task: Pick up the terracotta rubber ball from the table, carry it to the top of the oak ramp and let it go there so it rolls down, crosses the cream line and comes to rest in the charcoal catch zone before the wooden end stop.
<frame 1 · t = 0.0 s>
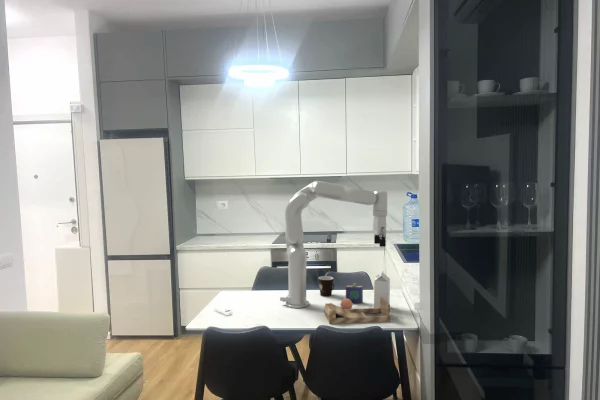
hand: (379, 245, 225), 31 cm above the table, tool pointing down, fingers open, 9 cm apart
ball: (346, 310, 212), on the table
flask: (354, 302, 225), on the table
coffee mug: (326, 296, 238), on the table
milk carton: (381, 308, 215), on the table
lane: (357, 318, 201), on the table
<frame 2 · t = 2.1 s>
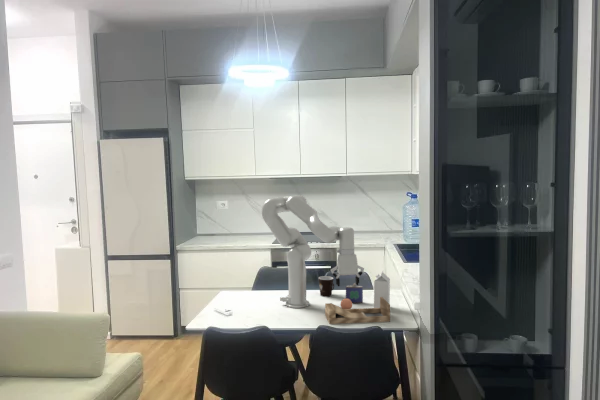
hand: (347, 285, 211), 13 cm above the table, tool pointing down, fingers open, 9 cm apart
nothing on the table moved.
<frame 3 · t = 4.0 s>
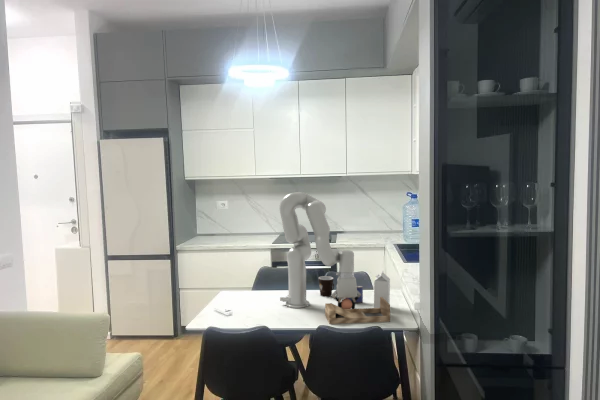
hand: (346, 309, 212), 1 cm above the table, tool pointing down, fingers closed on ball, 6 cm apart
ball: (346, 310, 212), on the table, touching gripper
everything else where it was.
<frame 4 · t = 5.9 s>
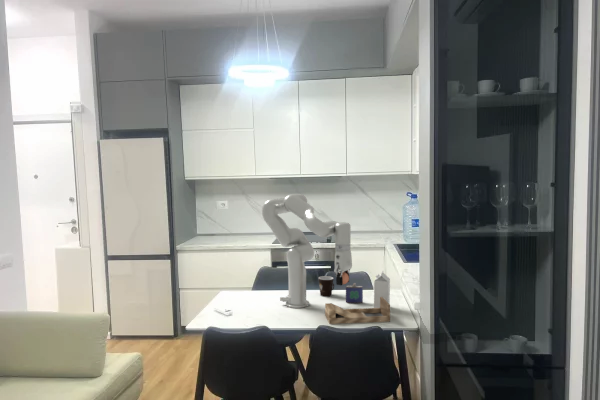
hand: (342, 282, 206), 16 cm above the table, tool pointing down, fingers closed on ball, 6 cm apart
ball: (342, 284, 206), point 15 cm above the table, touching gripper
everything else where it was.
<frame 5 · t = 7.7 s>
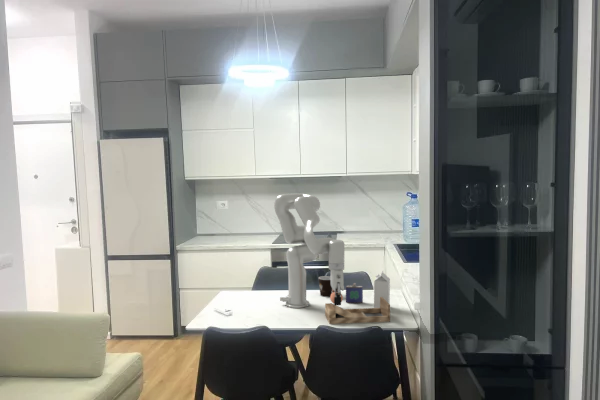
hand: (336, 302, 199), 8 cm above the table, tool pointing down, fingers closed on ball, 5 cm apart
ball: (336, 303, 199), point 7 cm above the table, touching gripper
everything else where it was.
when the fingers open (8 cm above the table, at t = 8.0 s): ball drops 4 cm and tips over, resting on lane.
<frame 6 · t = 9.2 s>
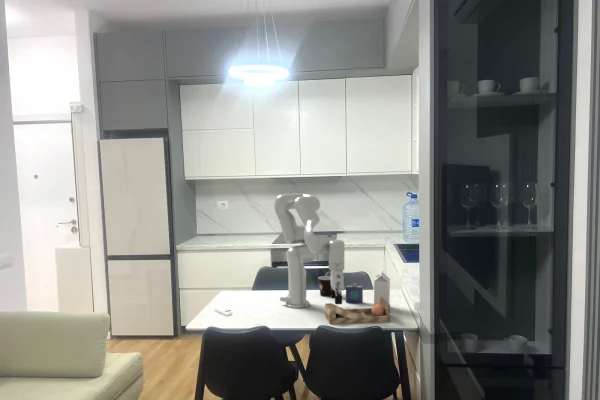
hand: (336, 300, 199), 9 cm above the table, tool pointing down, fingers open, 9 cm apart
ball: (371, 309, 201), point 4 cm above the table, tilted 100°, touching lane
everything else where it was.
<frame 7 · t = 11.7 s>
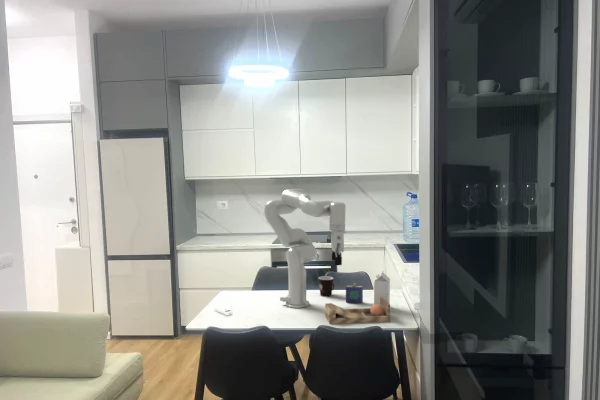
hand: (336, 262, 201), 27 cm above the table, tool pointing down, fingers open, 9 cm apart
ball: (370, 311, 201), point 3 cm above the table, tilted 88°, touching lane
everything else where it was.
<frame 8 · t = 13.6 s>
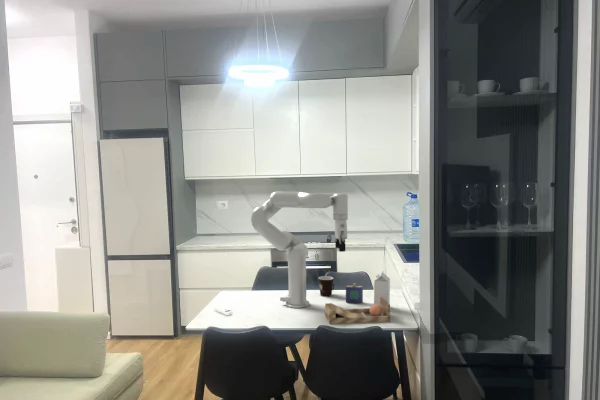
hand: (340, 249, 216), 30 cm above the table, tool pointing down, fingers open, 9 cm apart
ball: (369, 312, 201), point 3 cm above the table, tilted 78°, touching lane
everything else where it was.
at the end: ball inside the target area on the lane (3.0 cm from its centre), point 2.7 cm above the lane's base; ball point 2.7 cm above the table; ball moved 15.1 cm from its start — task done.
